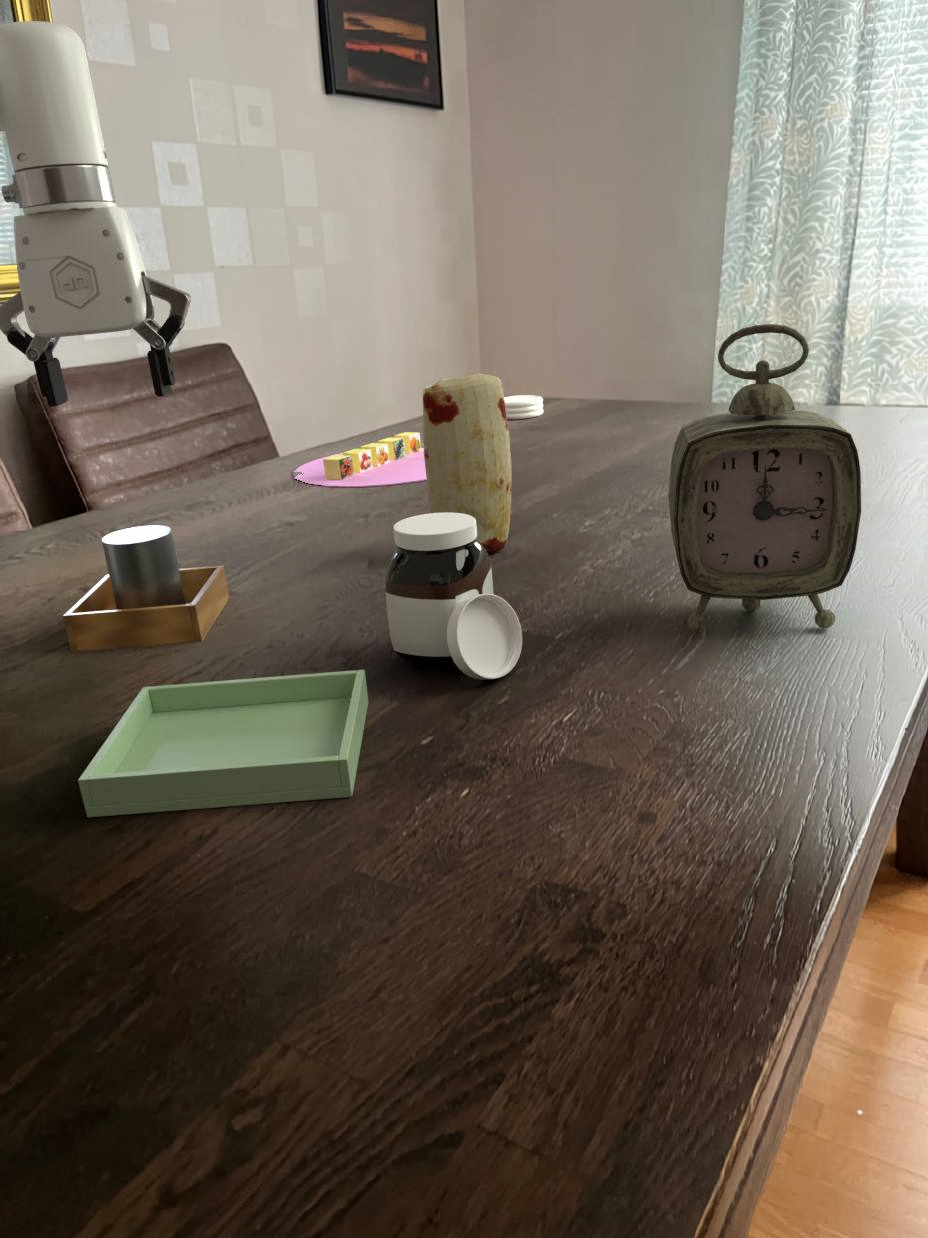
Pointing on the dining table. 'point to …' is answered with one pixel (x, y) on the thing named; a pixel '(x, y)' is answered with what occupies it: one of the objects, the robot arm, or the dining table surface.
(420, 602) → the spread jar
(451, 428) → the food model
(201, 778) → the tray
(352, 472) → the platter
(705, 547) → the tabletop clock
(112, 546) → the can
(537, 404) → the white short ridged cylinder
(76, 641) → the wooden box
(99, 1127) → the dining table surface
